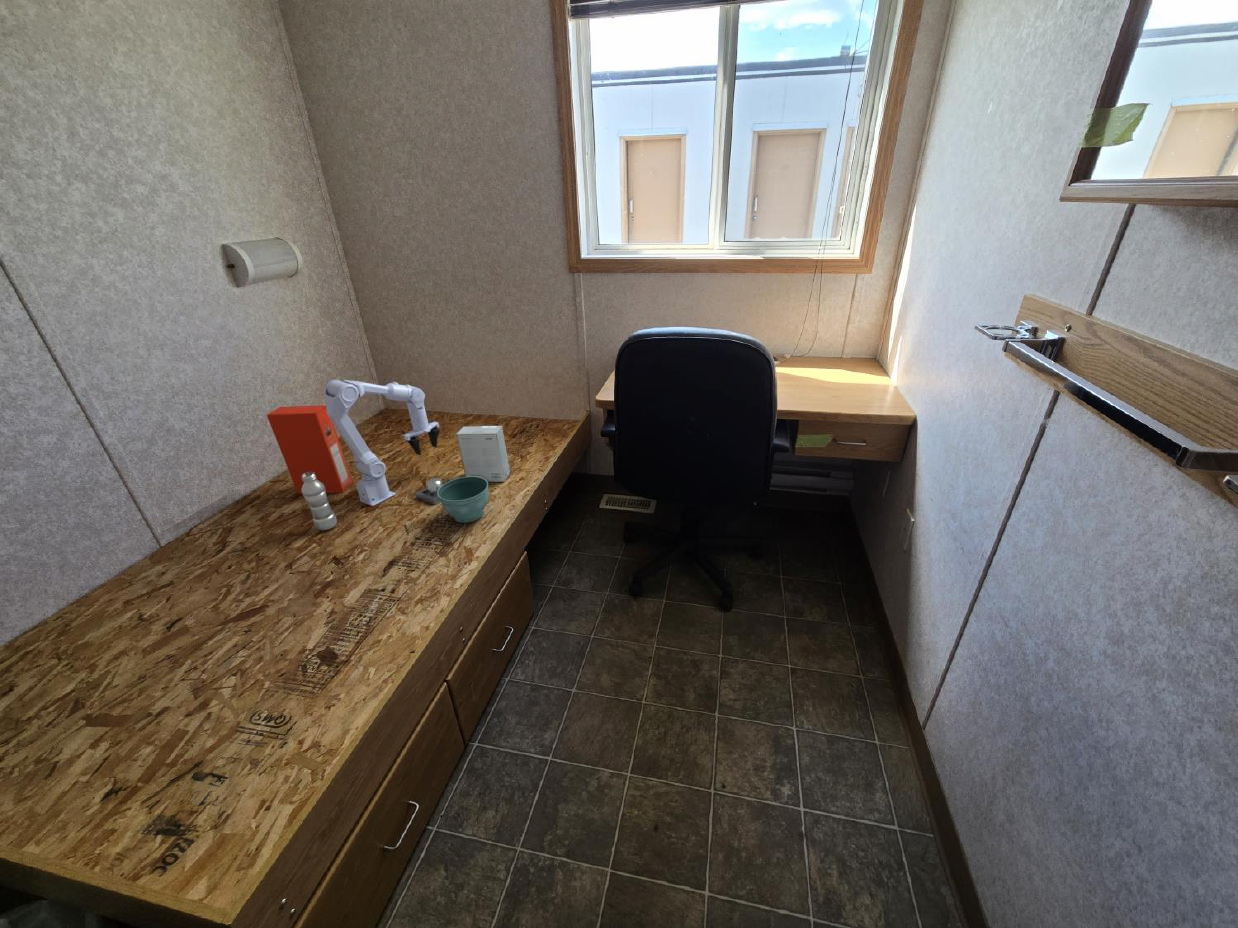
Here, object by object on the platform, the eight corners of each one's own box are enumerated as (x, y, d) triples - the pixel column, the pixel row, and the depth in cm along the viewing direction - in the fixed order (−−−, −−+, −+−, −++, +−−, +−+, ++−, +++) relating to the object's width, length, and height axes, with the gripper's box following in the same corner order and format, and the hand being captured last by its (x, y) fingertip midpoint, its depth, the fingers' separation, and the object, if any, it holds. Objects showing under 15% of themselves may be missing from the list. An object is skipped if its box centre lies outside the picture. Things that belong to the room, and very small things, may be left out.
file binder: (342, 493, 187) (315, 413, 172) (297, 494, 187) (266, 414, 173) (353, 482, 194) (327, 404, 179) (309, 483, 195) (280, 406, 180)
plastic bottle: (329, 533, 163) (309, 480, 154) (311, 532, 164) (290, 478, 155) (343, 522, 168) (324, 470, 159) (325, 521, 170) (306, 469, 161)
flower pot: (433, 522, 166) (426, 494, 161) (467, 499, 179) (461, 472, 174) (470, 533, 159) (463, 504, 154) (502, 508, 172) (498, 481, 167)
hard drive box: (510, 472, 195) (503, 425, 186) (505, 482, 189) (496, 434, 180) (472, 472, 197) (463, 425, 188) (465, 481, 190) (455, 434, 181)
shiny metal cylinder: (427, 497, 181) (423, 483, 178) (437, 491, 185) (433, 476, 182) (437, 500, 179) (434, 485, 176) (447, 493, 183) (444, 479, 180)
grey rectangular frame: (434, 505, 176) (433, 500, 175) (416, 498, 181) (415, 493, 180) (456, 492, 183) (455, 487, 183) (438, 485, 188) (437, 481, 187)
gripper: (409, 426, 180) (417, 460, 186) (441, 413, 191) (448, 445, 197) (397, 423, 184) (405, 456, 190) (429, 410, 194) (436, 441, 201)
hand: (426, 450), depth 194 cm, fingers open, 7 cm apart
